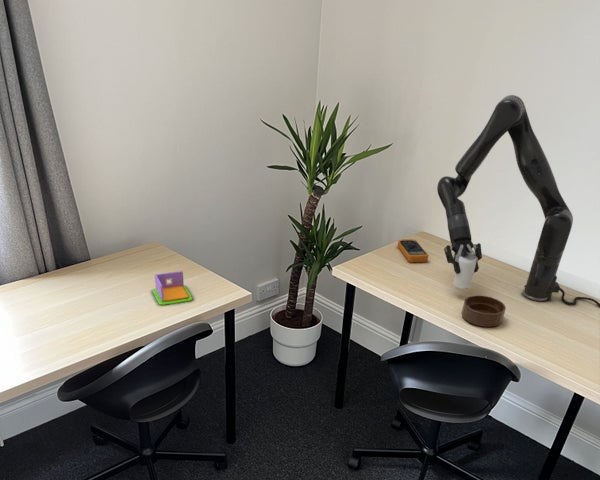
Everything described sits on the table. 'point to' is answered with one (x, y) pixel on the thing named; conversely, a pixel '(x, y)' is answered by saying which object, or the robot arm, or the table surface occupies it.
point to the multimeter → (412, 250)
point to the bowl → (483, 310)
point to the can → (465, 271)
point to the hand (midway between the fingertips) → (467, 272)
